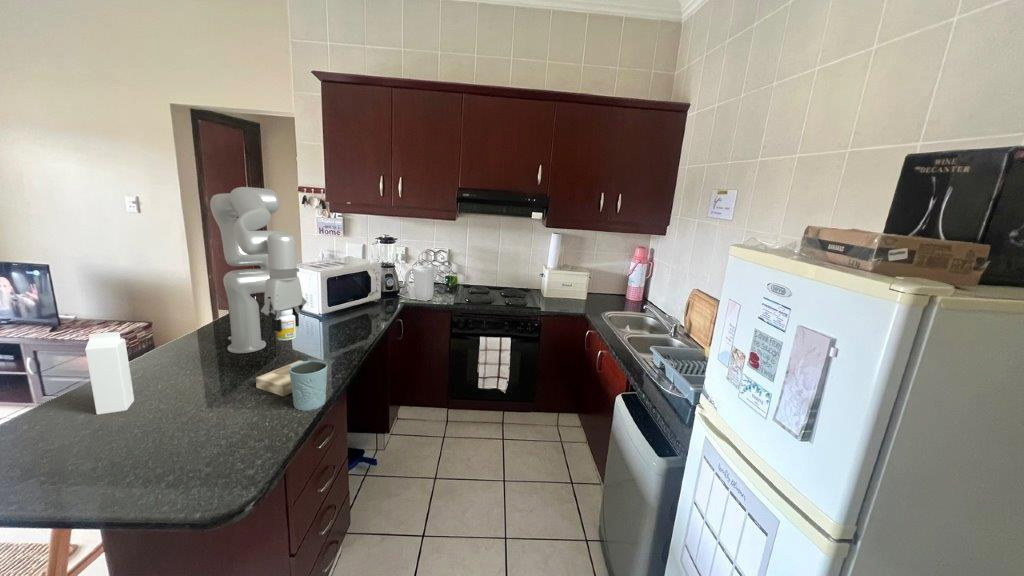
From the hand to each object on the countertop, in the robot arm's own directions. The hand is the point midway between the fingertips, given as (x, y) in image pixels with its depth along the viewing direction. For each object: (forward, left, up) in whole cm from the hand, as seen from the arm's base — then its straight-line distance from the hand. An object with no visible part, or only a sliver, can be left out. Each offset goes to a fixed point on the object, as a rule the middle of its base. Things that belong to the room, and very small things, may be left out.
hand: (286, 327), depth 122 cm
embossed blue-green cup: (+17, -6, -20) cm, 26 cm away
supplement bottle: (0, 0, -4) cm, 4 cm away
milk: (-26, -32, -20) cm, 46 cm away
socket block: (+1, +1, -19) cm, 19 cm away
